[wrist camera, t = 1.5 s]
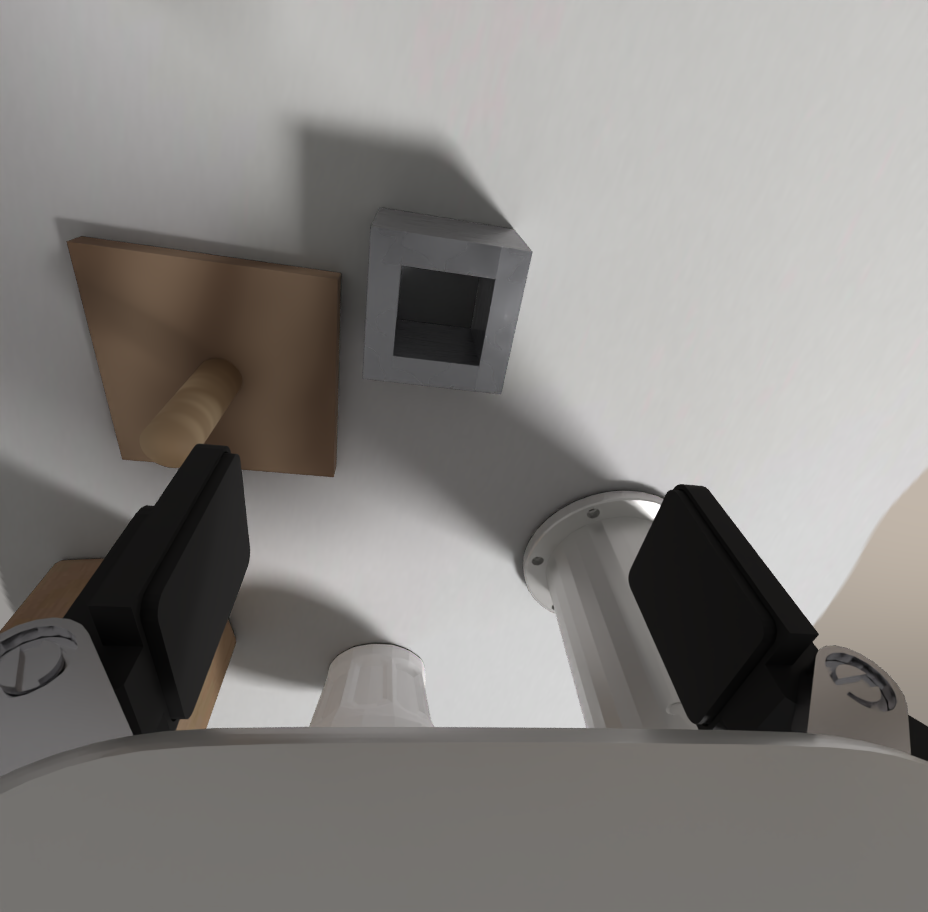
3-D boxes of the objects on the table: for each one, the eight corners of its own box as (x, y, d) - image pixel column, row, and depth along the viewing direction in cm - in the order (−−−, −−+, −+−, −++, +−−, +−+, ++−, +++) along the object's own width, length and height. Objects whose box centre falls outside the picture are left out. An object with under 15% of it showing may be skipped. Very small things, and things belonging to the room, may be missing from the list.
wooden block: (55, 557, 35) (-276, 959, 18) (205, 551, 35) (17, 934, 19) (110, 647, 40) (-105, 1017, 24) (239, 640, 41) (117, 996, 24)
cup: (449, 706, 49) (455, 844, 39) (317, 715, 48) (292, 857, 39) (446, 623, 42) (454, 766, 32) (292, 631, 41) (255, 781, 32)
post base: (341, 273, 26) (313, 328, 19) (336, 465, 32) (314, 557, 26) (81, 236, 24) (-49, 283, 17) (132, 448, 30) (51, 541, 24)
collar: (513, 229, 25) (532, 251, 21) (489, 353, 29) (501, 394, 24) (379, 207, 24) (370, 226, 20) (371, 339, 28) (362, 378, 24)
